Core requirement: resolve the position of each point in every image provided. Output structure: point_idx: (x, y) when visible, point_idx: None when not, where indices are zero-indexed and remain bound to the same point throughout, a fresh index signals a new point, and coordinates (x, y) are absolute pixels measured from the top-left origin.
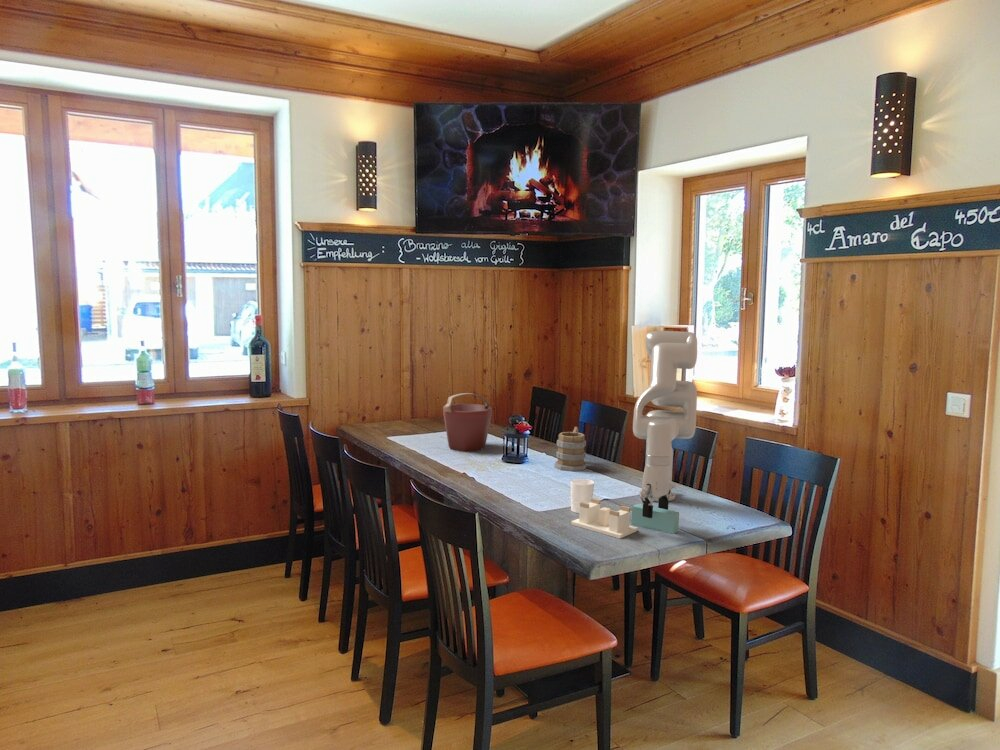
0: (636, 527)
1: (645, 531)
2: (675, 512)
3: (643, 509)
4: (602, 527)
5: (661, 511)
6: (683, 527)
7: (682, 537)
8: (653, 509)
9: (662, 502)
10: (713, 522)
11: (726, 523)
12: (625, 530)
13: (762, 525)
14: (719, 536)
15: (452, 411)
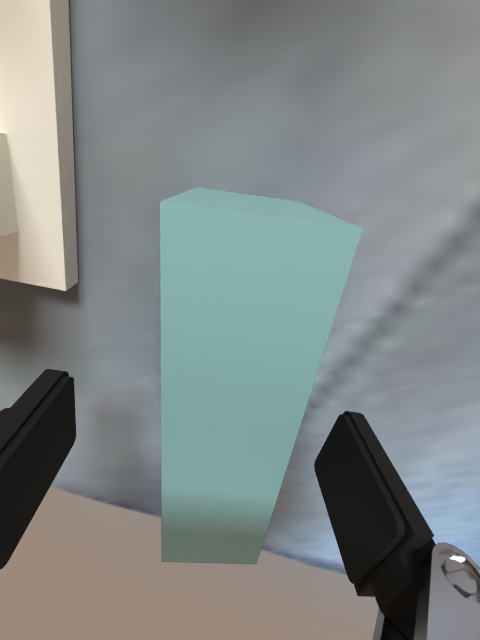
0: (61, 282)
1: (109, 328)
2: (233, 554)
3: (2, 428)
4: None
5: (192, 497)
6: (306, 453)
7: (159, 477)
8: (205, 443)
9: (360, 517)
10: (432, 512)
11: (433, 538)
12: None
13: None
14: (261, 548)
15: None
